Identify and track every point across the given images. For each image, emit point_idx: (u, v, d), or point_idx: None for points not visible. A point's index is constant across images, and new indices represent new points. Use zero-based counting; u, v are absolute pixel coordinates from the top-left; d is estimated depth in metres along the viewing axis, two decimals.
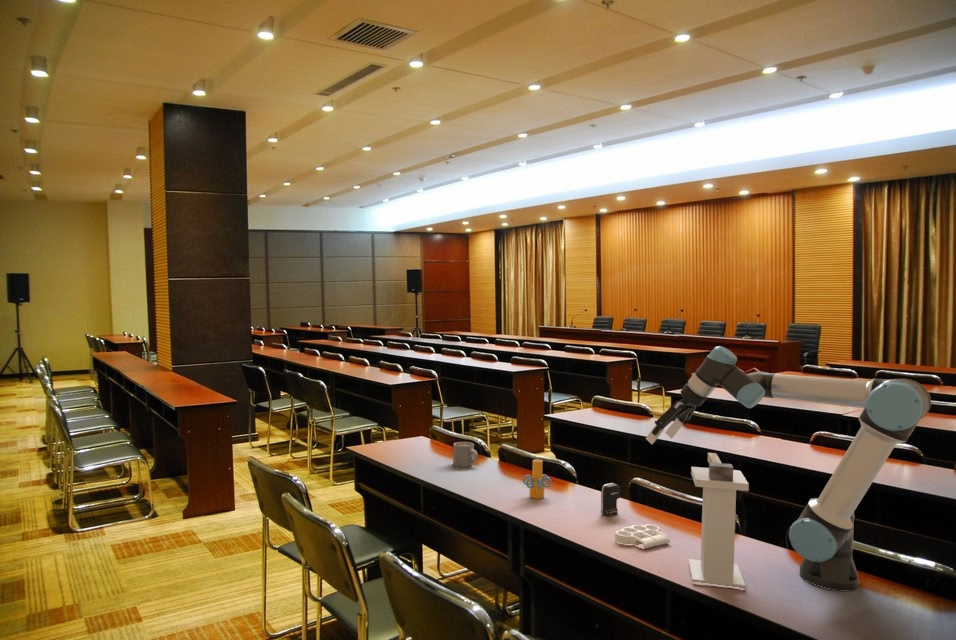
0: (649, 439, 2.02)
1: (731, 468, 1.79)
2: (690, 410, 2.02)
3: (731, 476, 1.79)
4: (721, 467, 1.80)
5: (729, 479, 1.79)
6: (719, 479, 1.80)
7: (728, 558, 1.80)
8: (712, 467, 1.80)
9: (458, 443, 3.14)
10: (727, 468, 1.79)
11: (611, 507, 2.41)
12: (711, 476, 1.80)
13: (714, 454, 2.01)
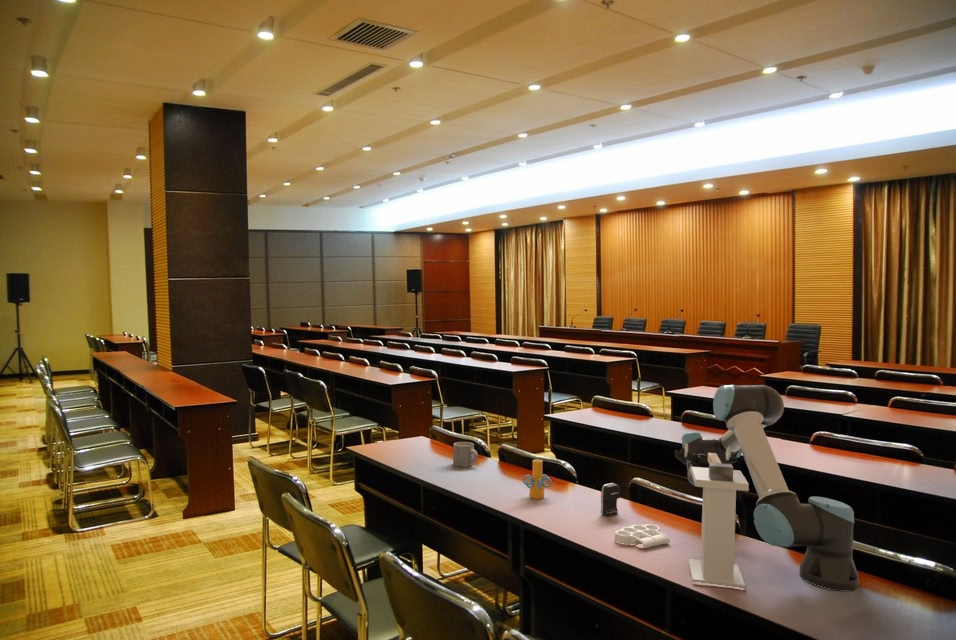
0: (685, 448, 2.16)
1: (731, 468, 1.79)
2: (707, 455, 2.26)
3: (731, 476, 1.79)
4: (721, 467, 1.80)
5: (729, 479, 1.79)
6: (719, 479, 1.80)
7: (728, 558, 1.80)
8: (712, 467, 1.80)
9: (458, 443, 3.14)
10: (727, 468, 1.79)
11: (611, 507, 2.41)
12: (711, 476, 1.80)
13: (714, 454, 2.01)
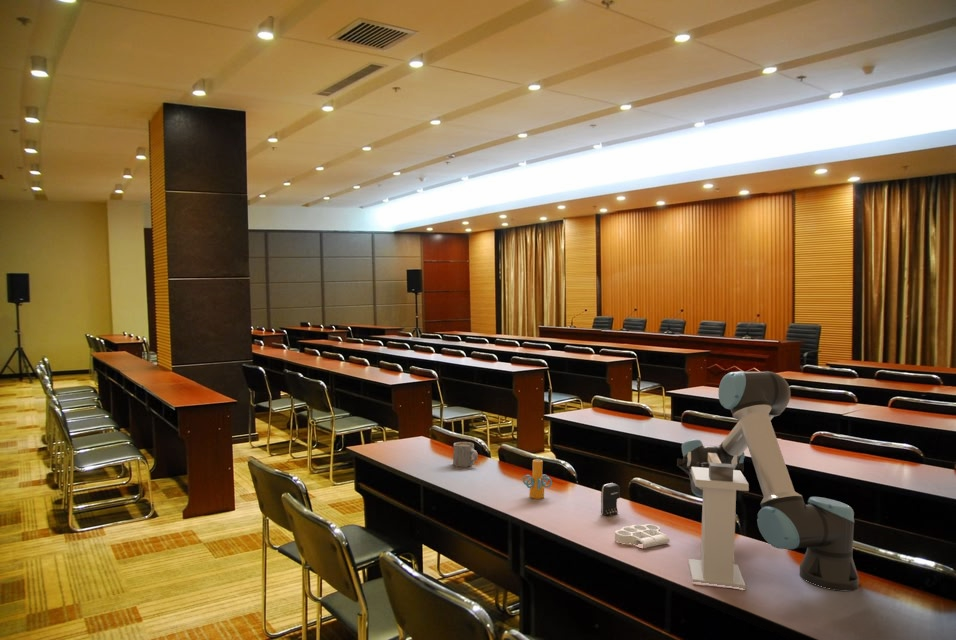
0: (688, 456, 2.01)
1: (731, 468, 1.79)
2: None
3: (731, 476, 1.79)
4: (721, 467, 1.80)
5: (729, 479, 1.79)
6: (719, 479, 1.80)
7: (728, 558, 1.80)
8: (712, 467, 1.80)
9: (458, 443, 3.14)
10: (727, 468, 1.79)
11: (611, 507, 2.41)
12: (711, 476, 1.80)
13: (714, 454, 2.01)
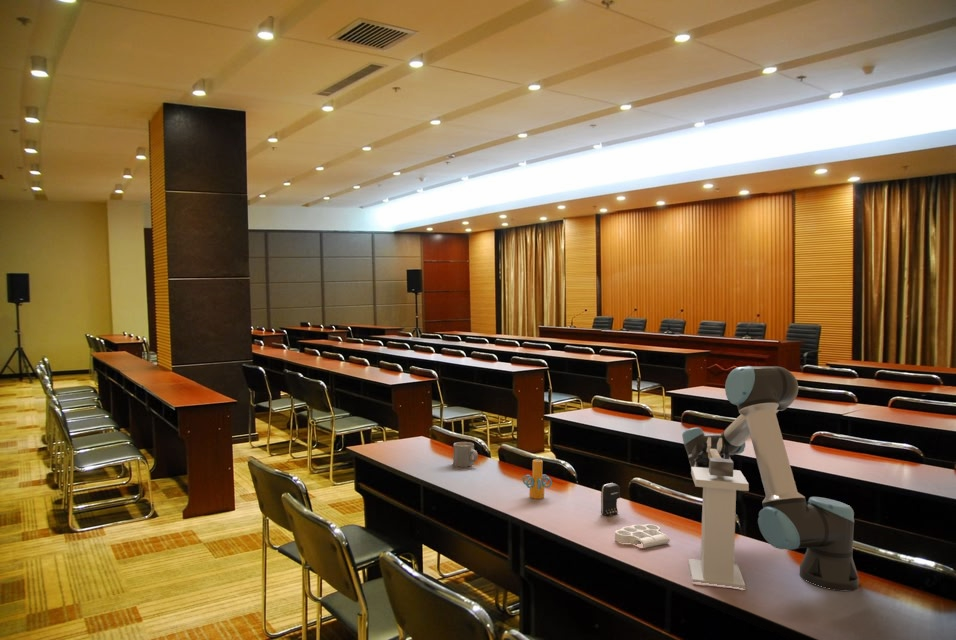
0: (708, 442, 1.96)
1: (731, 463, 1.79)
2: None
3: (732, 471, 1.79)
4: (721, 462, 1.79)
5: (729, 474, 1.79)
6: (719, 474, 1.80)
7: (728, 558, 1.80)
8: (712, 462, 1.80)
9: (458, 443, 3.14)
10: (727, 463, 1.79)
11: (611, 507, 2.41)
12: (711, 471, 1.80)
13: (714, 450, 2.01)
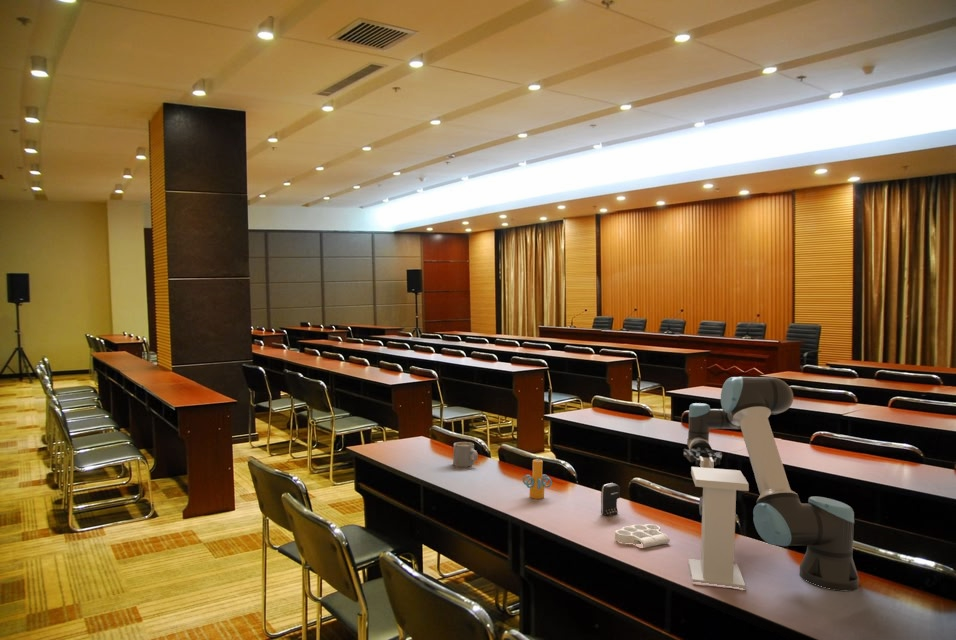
0: (701, 464, 2.15)
1: None
2: (705, 448, 2.30)
3: None
4: None
5: None
6: None
7: (728, 558, 1.80)
8: None
9: (458, 443, 3.14)
10: None
11: (611, 507, 2.41)
12: (701, 512, 2.04)
13: (706, 461, 2.21)
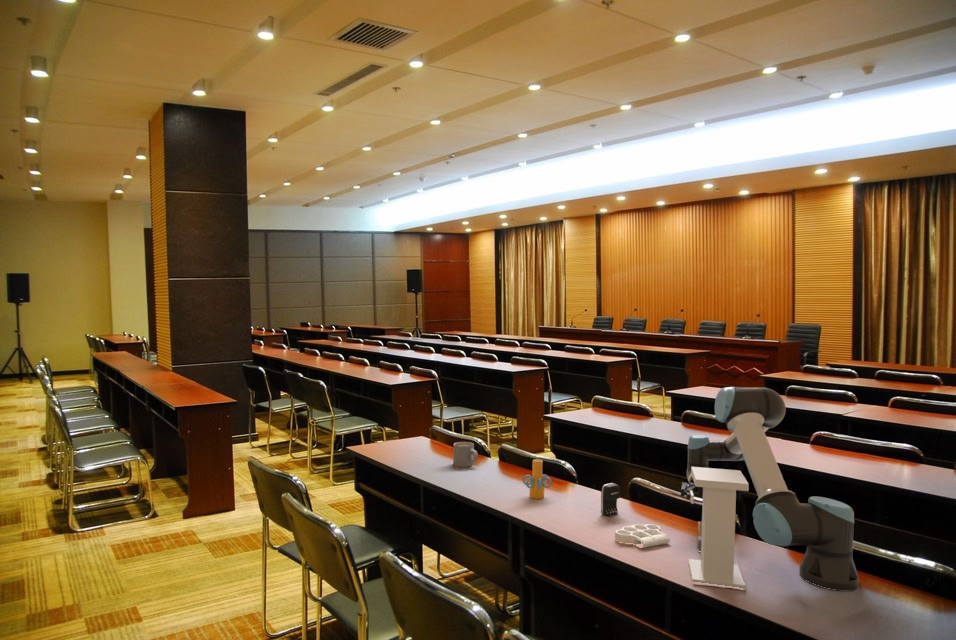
0: (691, 499, 2.17)
1: None
2: None
3: None
4: None
5: None
6: None
7: (728, 558, 1.80)
8: (700, 541, 2.05)
9: (458, 443, 3.14)
10: None
11: (611, 507, 2.41)
12: (699, 549, 2.05)
13: None
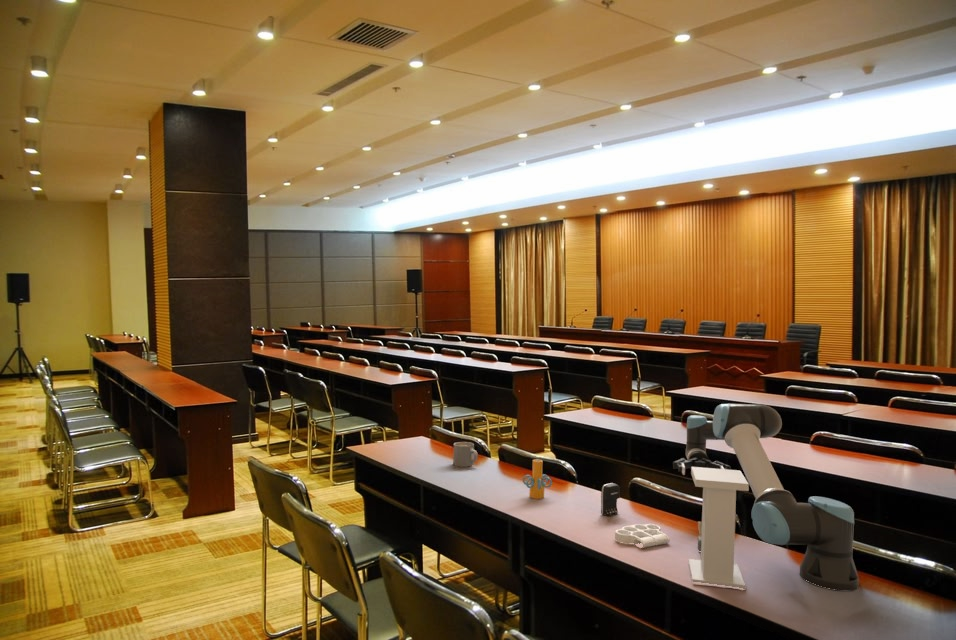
0: (682, 470, 2.31)
1: None
2: (703, 458, 2.42)
3: None
4: None
5: None
6: None
7: (728, 558, 1.80)
8: (700, 541, 2.05)
9: (458, 443, 3.14)
10: None
11: (611, 507, 2.41)
12: (699, 549, 2.05)
13: None
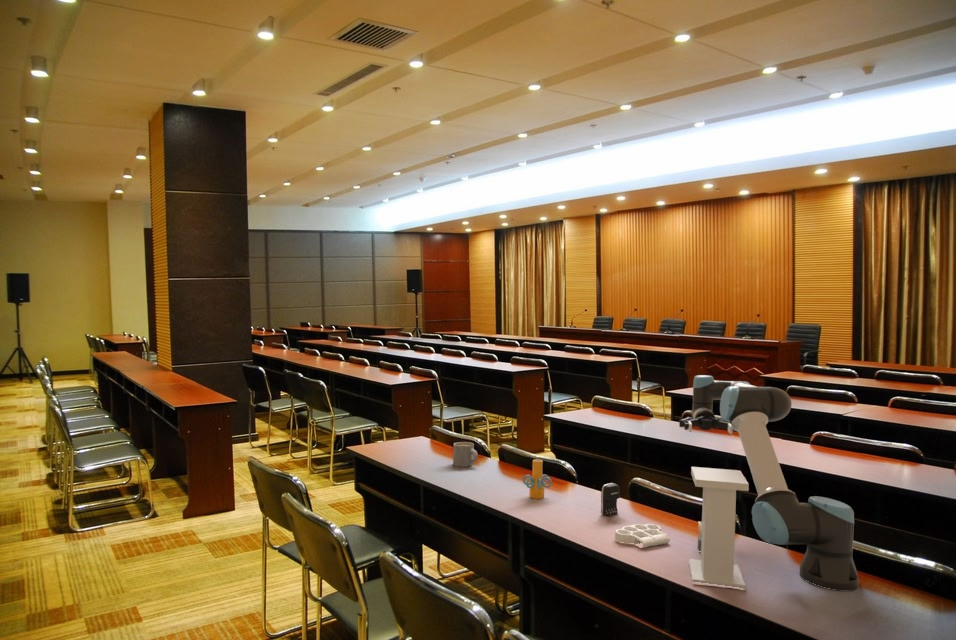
0: (689, 427, 2.27)
1: None
2: (710, 417, 2.37)
3: None
4: None
5: None
6: None
7: (728, 558, 1.80)
8: (700, 541, 2.05)
9: (458, 443, 3.14)
10: None
11: (611, 507, 2.41)
12: (699, 549, 2.05)
13: None
